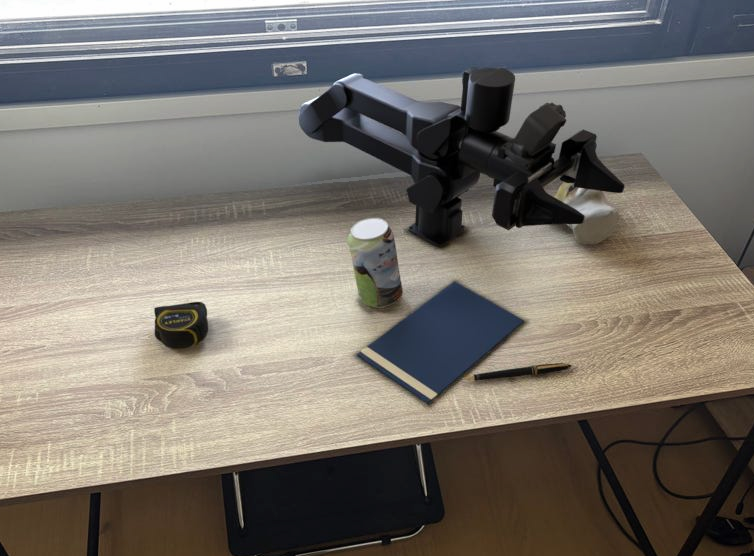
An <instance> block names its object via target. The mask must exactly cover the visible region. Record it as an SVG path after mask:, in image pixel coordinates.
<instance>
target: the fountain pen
mask: <svg viewBox="0 0 754 556" xmlns="http://www.w3.org/2000/svg"><path fill="white" fill-rule="evenodd" d="M571 367H573V365H571V364H569V363H565V362H564V363H561V362H560V363H545V364H543V363H542V364H535V365H529V366H524V367H516V368H508V369H500V370H494V371H488V372H482V373H481V372H480V373H475V374H473V375H472V376H471V375H469V376H466V377H463V378H462V380H467V381H471V380H474V381H488V380H497V379H498V380H499V379H507V378H508V379H510V378H516V377H517V378H518V377H525V376H539V375H545V374H553V373H557V372H562V371H565V370H566V371H567V370H568V369H570V368H571Z"/></svg>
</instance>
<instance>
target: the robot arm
mask: <svg viewBox="0 0 754 556" xmlns="http://www.w3.org/2000/svg"><path fill="white" fill-rule="evenodd" d="M515 83H516V75H515V73H513V72H512V71H510V70H509V69H507V68H504V67H499V68H497V67H496V68H495V67H483V68H477V67H475V66H472V67H470V68H468V69H466V70H463V72H462V77H461V84H462V85H461V86H462V89H461V90H462V91H461V101H460V105H458V104H454V103H448V102H443V101H425V102H424V101H419V100H416V99H414V98H411V97H409V96H406V95H404V94H402V93H400V92H397V91H396V90H393V89H391V88H388V87H386V86H383V85H381V84H378V83H377V82H374V81H371V80H369V79H367V77H365V75H363V74H361V73H352V74H350V75H348V76H346V77H343V78H341V79H339V80H336V81H335V82H334V83H333V85H331V87H330V88H328V89H327V90H326V91H325V92H324V93H322V94H321V95H319V96H317V97H315V98H313V99H311V100H309V101H307V102H304V103H303V104H302V105H300V108H299V110H298V111H299V112H298V118H297V121H298V126H299V127H300V129H301V130H302V132H303V133H304V134H305V135H306V136H307V137H308V138H309V139H312V140H315V141H319V142H323V143H345V144H348V145H350V146H351V147H354V148H356V149H357V150H359V151H361V152H363V153H365V154H367V155H369V156H371V157H373V158H375V159H377V160H380V161H381V162H383V163H386V164H387V165H389V166H391V167H393V168H395V169H397V170H399V171H401V172H402V173H405V174H407V175H409V176H410V177H411V179H412V181H413V182H414V184H412V185H410V186H409V187H407V188H406V190H405V191H406V194H407V199H408V202H409V203H411V204H412V205H414V206H415V217H414V221H415V222H414V223H413V224H411V225H409V226H408V228H407V229H408V232H409V233H411V234H413V235H415V236H416V237H418V238H420V239H423V241H426V242H427V243H429V244H431V245H433V246H435V247H436V248H441V247H442V246H444V245H446V244H447V243H448V242H450V241H451V240H453V239H454V238H456V237H457V236H458V235H459V234H460V235H461V233H463V232H465V230H466V226H465V225H464V224H462V223H463V215H464V211H463V210H462V204H463V203H462V201H463V200H462V198H460V196H462V195H463V194H465V193H468V192H469V191H470V189H471V188H472V187H474V186H475V185H477V183H478V182H479V181H480V177H481V174H482V175H484V176H486V177H488V178H490V179H492V180H493V182H492V183H493V184H492V187H494V188H495V192H494V198H493V204H492V205H493V206H492V210H491V211H492V212H491V217H492V219H493V220H494V223H495V224H496V226H498V227H501V228H503V229H504V230H506V231H508V232H509V231H510V230H512V229H513V228H517V229H521V228H523V227H530V226H547V225H549V226H550V225H566V224H582V223H583V222H584V218H585V216H584V215H583V214H582V213H580V212H579V211H578V210H576V209H574V208H573V207H571V206H569V205H567V204H565V203H564V202H562V201H560V200H558V199H556V198H555V197H553V196H554V195H551V194H550V193H547V191H546V190H545V189H547V188H548V187H549V186H551V185H552V184H554V183H555V182H557V181H558V180H560V181H561V182H563V183H564V182H566V183H574V187H577V188H584V189H591V190H598V191H602V192H606V193H613V194H622V193H623V192H624V191H625V186H626V185H625V183H623V181H622V180H620V179H619V178H618V177H617V176H616V175H615V174H614V173H613V172H612V171H611V170H610V169H609V168H608V167H607V166H605V164H604V163H603V162H602V161H601V159H600V158H599V157H598V154H597V152H596V150H597V145H598V144H597V138H598V136H597V134H596V133H593V132H591V131H589V130H586V129H582V130H579V131H578V132H576V133H574V134H573V135H571V136H570V137H567V139H565V140H564V141H562V142H561V146H560V151H559V155H558V159H556V160H555V158H554V157H553V154H555V152H556V147H557V144H556V143H554V142H553V141H554V139H555V137H556V136H557V134H558V133H559V131H560V130H561V128H563V127H564V126H565V125H566V123H567V119H566V117H567V114H566V111H565V110H564V107H563V105H561V104H555V103H553V102H546V103H543V104H542V105H540V106H539V107H538V108H537V109H536V110H534V111H532V112H531V113H529V114H528V116H527V117H526V118H525V120H524V121H523V122H522V124H521V126H520V128H519V130H518V131H517V134H516V135H515V137H511V136H509V135H506V134H504V133H502V132H500V131H498V130H501V128H502V127H505V126H506V125H507V124H508V123H509V122H510V117H511V110H512V103H513V97H514V90H515Z"/></svg>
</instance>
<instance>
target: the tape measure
mask: <svg viewBox="0 0 754 556" xmlns="http://www.w3.org/2000/svg"><path fill="white" fill-rule="evenodd" d="M153 310H154V312H153V313H154V316H155V318H154V334H153V335H154V337H155V339H156V340H157V341H159V342H160V343H161V344H162V345H163V346H164V347H166V348H168V349H173V350H183V349H189V348H191V347H194V346H197V345H199V344H200V343H201V342H203V341H204V340H205V338H206V337H207V336H208V332H209V322H208V309H207V306H206V304H205V303H204V302H202V301H192V302H191V301H190V302H186V303H178V304H171V305H162V306H156V307H154V309H153Z"/></svg>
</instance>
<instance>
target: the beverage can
mask: <svg viewBox="0 0 754 556" xmlns="http://www.w3.org/2000/svg"><path fill="white" fill-rule="evenodd" d="M347 243H348V248H349V252H350V257H351V262H352V267H353V272H354V277H355V282H356V287H357V293H358V298H359V300H360V302H361V303H363V304H364V305H365V306H367V307H372V308H378V309H379V308H380V309H381V308H386V307H389V306H391V305H393V304H394V303H396V302H397V301H399V300H400V299H401V297H402V295H403V286H402V278H401V272H400V265H399V260H398V251H397V246H396V240H395V233H394V231H393V229H392V228H391V227H390V226H389V224H388V222H387V221H386V220H384V219H382V218H379V217H368V218H364V219H361V220H359V221H356V223H354V224H353V225H352V226H351V228H350V233H349V235H348V239H347Z"/></svg>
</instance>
